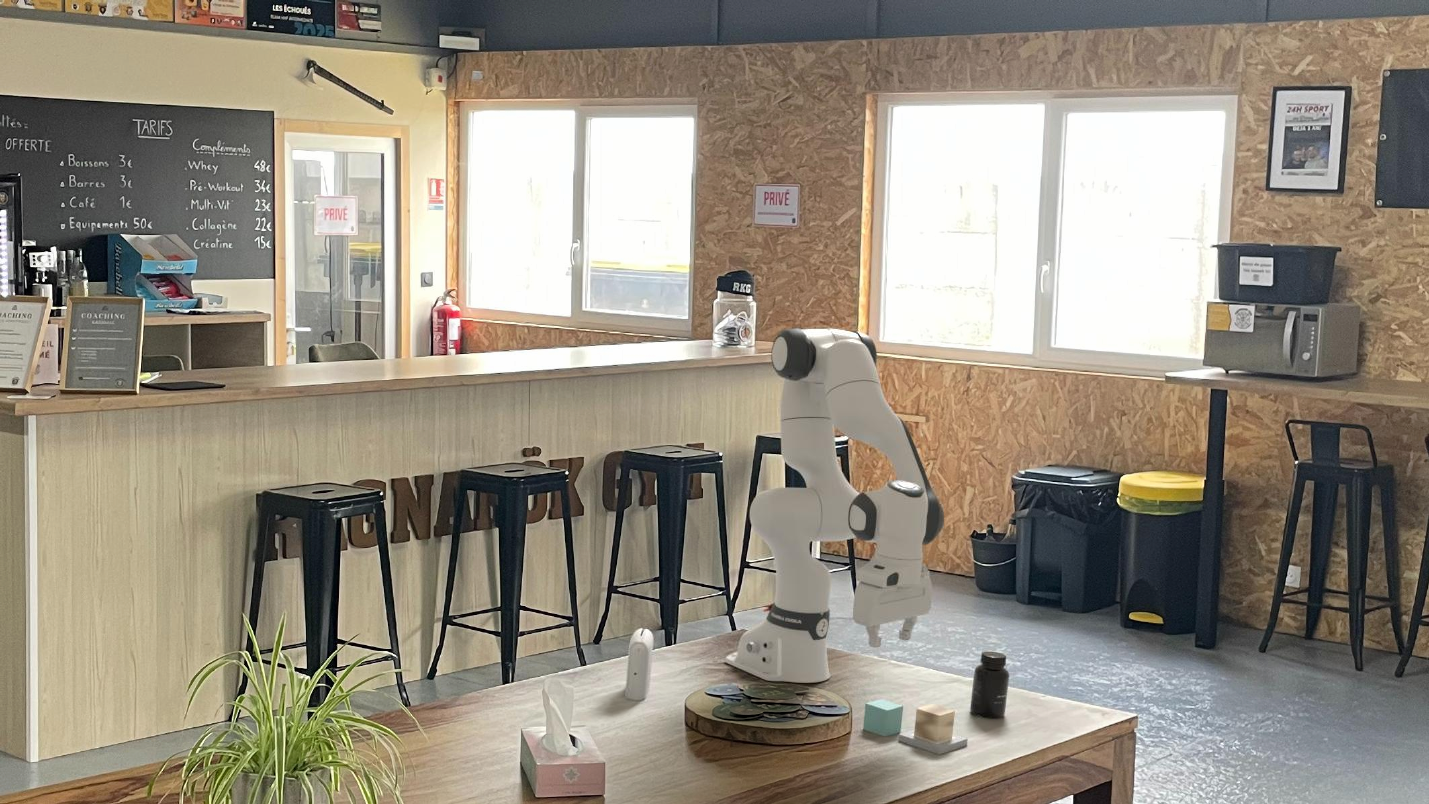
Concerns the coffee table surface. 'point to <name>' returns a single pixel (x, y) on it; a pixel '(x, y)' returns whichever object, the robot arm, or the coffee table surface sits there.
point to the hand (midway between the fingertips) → (889, 643)
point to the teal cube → (883, 717)
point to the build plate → (931, 745)
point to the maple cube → (934, 723)
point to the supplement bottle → (990, 686)
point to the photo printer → (639, 664)
